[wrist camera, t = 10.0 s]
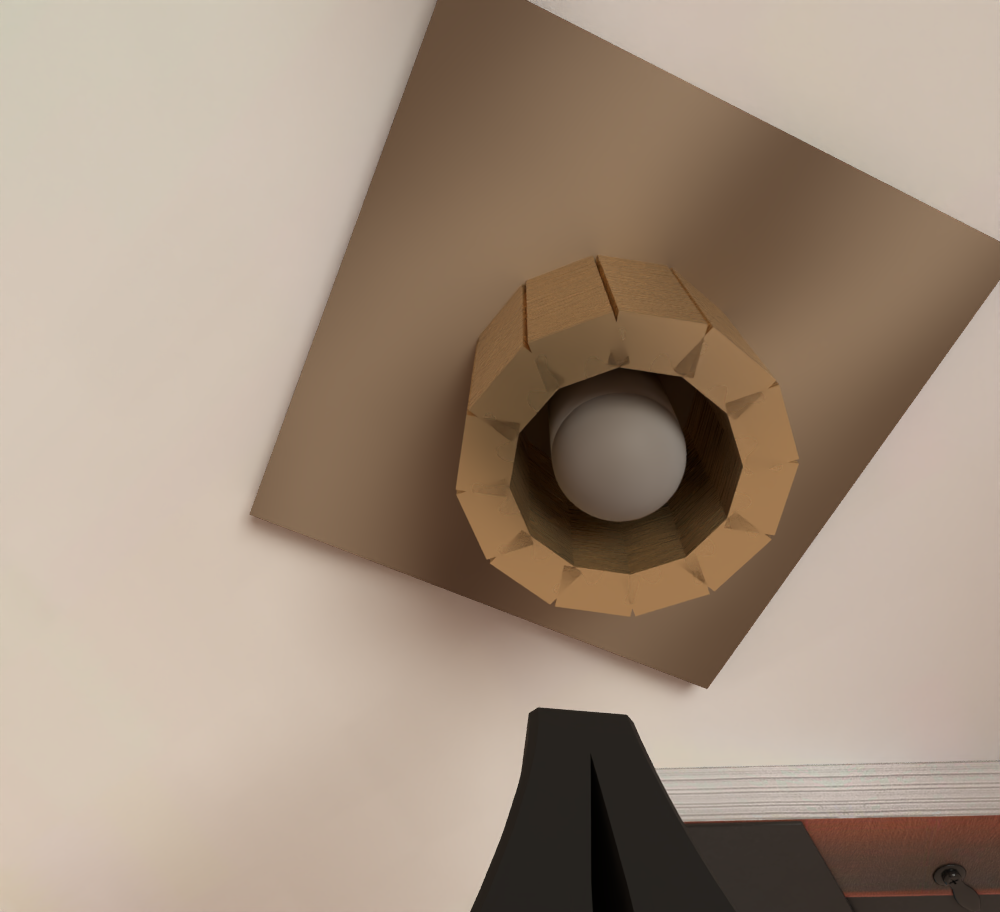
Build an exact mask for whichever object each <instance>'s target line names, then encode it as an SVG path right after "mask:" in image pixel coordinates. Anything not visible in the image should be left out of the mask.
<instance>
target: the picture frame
mask: <svg viewBox="0 0 1000 912" xmlns="http://www.w3.org/2000/svg"><path fill="white" fill-rule="evenodd" d="M655 770H656V772H657V774H658V776H659V778H660V780H661V782H662V784H663V786H664V788H665V789H666V791H667V793H668V795H669V797H670V799H671V801H672V803H673V804H674V806H675V808H676V810H677V812H678V814H679V815H680V817H681V819H682V821H683V822H684V824H685V826H686V828H687V829H688V831H689V833H690V834H691V836H692V838H693V840H694V841H695V843H696V845H697V846H698V848H699V850H700V852H701V853H702V855H703V857H704V858H705V860H706V862H707V863H708V865H709V866H710V868H711V870H712V871H713V873H714V875H715V876H716V878H717V879H718V881H719V883H720V884H721V886H722V887H723V889H724V890H725V892H726V893H727V895H728V896H729V898H730V899H731V901H732V902H733V904H734V905H735V907H736V909H737V910H738V912H1000V761H962V762H919V763H876V764H833V765H790V766H746V767H703V768H660V769H655Z"/></svg>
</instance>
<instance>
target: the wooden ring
mask: <svg viewBox="0 0 1000 912" xmlns="http://www.w3.org/2000/svg"><path fill="white" fill-rule="evenodd" d="M618 367H621V368H627V369H634V370H641V371H647V372H654V373H660V374H667V375H674V376H680V377H683V378H684V379H685V380H686V381H688V382H689V383H690V384H691V385H693V386H694V387H695V388H696V390H695V394H694V398H693V401H692V405H691V409H690V413H689V416H688V420H687V424H686V426H685V427H684V428H683V429H682V432H683V435H684V439H685V443H686V452H687V455H686V466H685V471H684V474H683V477H682V480H681V482H680V484H679V486H678V488H677V490H676V491H675V493H674V494H673V496H672V497H671V498H670V499H669V500H668V501H667V502H666V503H665V504H664V505H663V506H662V507H660V508H659V509H658V510H656V511H655V512H653V513H651V514H649V515H647V516H645V517H642V518H639V519H636V520H631V521H621V522H616V521H607V520H602V519H599V518H596V517H593V516H591V515H589V514H587V513H585V512H583V511H582V510H580V509H579V508H578V507H577V506H575V505H574V504H573V503H572V502H571V501H570V500H569V499H568V498H567V497H566V496H565V494H564V493H563V491H562V490H561V488H560V486H559V484H558V482H557V480H556V477H555V474H554V471H553V465H552V458H551V457H549V456H548V455H547V454H545V453H544V452H543V451H541V450H540V449H539V448H537V447H536V446H534V445H533V444H532V443H530V442H529V441H528V439H527V437H526V434H525V432H524V430H523V428H524V427H525V426H526V425H527V424H528V423H529V422H530V420H531V419H532V418H533V417H534V416H535V415H536V414H537V413H538V411H539V410H540V409H541V408H542V407H543V406H544V405H545V404H546V402H547V401H548V400H549V399H550V398H551V397H552V396H553V395H554V393H555V392H556V391H557V390H558V389H559V388H562V387H565V386H568V385H571V384H573V383H576V382H579V381H582V380H585V379H587V378H590V377H593V376H596V375H599V374H601V373H604V372H607V371H610V370H613V369H616V368H618ZM797 459H799V456H798V453H797V449H796V445H795V442H794V438H793V434H792V430H791V427H790V423H789V419H788V415H787V412H786V408H785V404H784V401H783V397H782V393H781V389H780V386H779V384H778V383H777V381H776V379H775V378H774V377H773V375H772V374H771V373H770V372H769V370H768V369H767V368H766V366H765V365H764V364H763V363H762V361H761V360H760V359H759V357H758V356H757V355H756V354H755V352H754V351H753V350H752V349H751V347H750V346H749V345H748V343H747V342H746V341H745V340H744V338H743V337H742V336H741V334H740V333H739V332H738V331H737V329H736V328H735V327H734V325H733V324H732V323H731V322H730V320H729V319H728V318H727V317H726V315H725V314H724V313H723V311H722V310H720V309H719V308H718V307H717V306H716V305H715V304H713V303H712V302H711V301H710V300H709V299H708V298H706V297H705V296H704V295H703V294H702V293H701V292H699V291H698V290H697V289H696V288H695V287H694V286H692V285H691V284H690V283H689V282H688V281H687V280H685V279H684V278H683V277H682V276H681V275H680V274H678V273H677V272H676V271H675V270H674V269H673V268H671V269H669V267H668V266H667V265H660V264H654V263H647V262H641V261H635V260H628V259H622V258H616V257H609V256H603V255H597V260H596V263H595V260H594V258H593V255H592V256H589V257H587V258H584V259H581V260H579V261H576V262H574V263H571V264H568V265H566V266H563V267H560V268H558V269H555V270H553V271H550V272H547V273H545V274H542V275H540V276H537V277H534V278H532V279H529V280H526V286H525V285H523V284H521V285H520V287H519V288H518V289H517V290H516V292H515V293H514V294H513V295H512V296H511V298H510V299H509V300H508V301H507V303H506V304H505V305H504V306H503V307H502V309H501V310H500V311H499V312H498V314H497V315H496V316H495V317H494V318H493V320H492V321H491V322H490V323H489V325H488V326H487V327H486V328H485V329H484V331H483V332H482V333H481V334H480V335H479V340H477V346H476V353H475V359H474V366H473V373H472V380H471V387H470V394H469V400H468V407H467V414H466V421H465V428H464V435H463V442H462V449H461V455H460V462H459V469H458V476H457V483H456V490H457V493H456V495H457V497H458V500H459V502H460V504H461V506H462V508H463V510H464V512H465V514H466V517H467V519H468V521H469V523H470V525H471V527H472V529H473V532H474V534H475V536H476V538H477V540H478V542H479V544H480V547H481V549H482V551H483V553H484V555H485V557H486V559H490V564H491V565H493V566H494V567H496V568H497V569H499V570H500V571H502V572H503V573H505V574H506V575H508V576H509V577H510V578H512V579H513V580H515V581H516V582H518V583H519V584H521V585H522V586H524V587H525V588H527V589H528V590H529V591H531V592H532V593H534V594H535V595H537V596H538V597H540V598H541V599H543V600H544V601H546V602H547V603H548V604H551V603H552V602H553V601H554V600H555V607H562V608H570V609H577V610H584V611H592V612H599V613H606V614H614V615H621V616H628V617H630V616H631V612H632V609H633V611H634V614H635V616H638V615H642V614H645V613H648V612H652V611H655V610H658V609H662V608H665V607H668V606H672V605H675V604H678V603H682V602H685V601H688V600H692V599H695V598H698V597H702V596H705V595H708V594H710V593H709V590H708V587H709V588H711V589H712V590H713V591H716V590H717V589H718V588H719V587H720V586H721V585H722V584H723V583H724V582H726V581H727V580H728V579H729V578H730V577H731V576H732V575H733V574H734V573H735V572H737V571H738V570H739V569H740V568H741V567H742V566H743V565H744V564H745V563H747V562H748V561H749V560H750V559H751V558H752V557H753V556H754V555H755V554H756V553H758V552H759V551H760V550H761V549H762V548H763V547H764V546H765V545H766V544H768V543H769V542H770V541H771V540H772V539H771V537H770V535H775V533H776V530H777V527H778V524H779V521H780V518H781V515H782V512H783V509H784V506H785V503H786V500H787V497H788V495H789V492H790V489H791V486H792V483H793V480H794V477H795V474H796V471H797V468H798V465H799V463H798V462H797ZM707 586H708V587H707Z"/></svg>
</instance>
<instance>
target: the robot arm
mask: <svg viewBox="0 0 1000 912" xmlns="http://www.w3.org/2000/svg"><path fill="white" fill-rule="evenodd" d="M470 912H738V910H737V909H736V907H735V905H734V904H733V902H732V901H731V899H730V898H729V896H728V895H727V893H726V892H725V890H724V889H723V887H722V886H721V884H720V883H719V881H718V879H717V878H716V876H715V875H714V873H713V871H712V870H711V868H710V866H709V865H708V863H707V862H706V860H705V858H704V857H703V855H702V853H701V852H700V850H699V848H698V846H697V845H696V843H695V841H694V840H693V838H692V836H691V834H690V833H689V831H688V829H687V828H686V826H685V824H684V822H683V821H682V819H681V817H680V815H679V814H678V812H677V810H676V808H675V806H674V804H673V803H672V801H671V799H670V797H669V795H668V793H667V791H666V789H665V788H664V786H663V784H662V782H661V780H660V778H659V776H658V774H657V772H656V770H655V768H654V766H653V764H652V762H651V760H650V758H649V756H648V754H647V752H646V749H645V747H644V745H643V743H642V741H641V739H640V736H639V734H638V732H637V730H636V727H635V725H634V722H633V721H632V720H631V719H630V718H629V717H628V716H627V715H623V714H611V713H599V712H587V711H575V710H563V709H550V708H537V709H535V710H533V711H532V712H530V713H529V717H528V724H527V732H526V740H525V748H524V755H523V763H522V771H521V776H520V780H519V784H518V788H517V791H516V794H515V797H514V800H513V803H512V806H511V809H510V812H509V816H508V819H507V822H506V825H505V828H504V831H503V834H502V836H501V839H500V842H499V844H498V847H497V849H496V852H495V854H494V857H493V859H492V862H491V864H490V866H489V869H488V871H487V874H486V876H485V879H484V881H483V884H482V886H481V889H480V891H479V893H478V896H477V898H476V900H475V902H474V904H473V907H472V909H471V911H470Z"/></svg>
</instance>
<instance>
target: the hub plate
mask: <svg viewBox="0 0 1000 912" xmlns="http://www.w3.org/2000/svg"><path fill="white" fill-rule="evenodd" d="M592 255H593V258H594V260H595V263H596V260H597V255H603V256H609V257H616V258H622V259H628V260H635V261H641V262H647V263H654V264H660V265H667V266H668V267H669V269H671V268H673V269H674V270H675V271H676V272H677V273H678V274H680V275H681V276H682V277H683V278H684V279H685V280H687V281H688V282H689V283H690V284H691V285H692V286H694V287H695V288H696V289H697V290H698V291H699V292H701V293H702V294H703V295H704V296H705V297H706V298H708V299H709V300H710V301H711V302H712V303H713V304H715V305H716V306H717V307H718V308H719V309H720V310H722V311H723V313H724V314H725V315H726V317H727V318H728V319H729V320H730V322H731V323H732V324H733V325H734V327H735V328H736V329H737V331H738V332H739V333H740V334H741V336H742V337H743V338H744V340H745V341H746V342H747V343H748V345H749V346H750V347H751V349H752V350H753V351H754V352H755V354H756V355H757V356H758V357H759V359H760V360H761V361H762V363H763V364H764V365H765V366H766V368H767V369H768V370H769V372H770V373H771V374H772V375H773V377H774V378H775V379H776V381H777V383H778V384H779V386H780V389H781V393H782V397H783V401H784V404H785V408H786V412H787V415H788V419H789V423H790V427H791V430H792V434H793V438H794V442H795V445H796V449H797V453H798V456H799V459H797V462H798V463H799V465H798V468H797V471H796V474H795V477H794V480H793V483H792V486H791V489H790V492H789V495H788V497H787V500H786V503H785V506H784V509H783V512H782V515H781V518H780V521H779V524H778V527H777V530H776V533H775V535H770V537H771V539H772V540H771V541H770V542H769V543H768V544H766V545H765V546H764V547H763V548H762V549H761V550H760V551H759V552H758V553H756V554H755V555H754V556H753V557H752V558H751V559H750V560H749V561H748V562H747V563H745V564H744V565H743V566H742V567H741V568H740V569H739V570H738V571H737V572H735V573H734V574H733V575H732V576H731V577H730V578H729V579H728V580H727V581H726V582H724V583H723V584H722V585H721V586H720V587H719V588H718V589H717V590H716V591H713V590H712V589H711V588H709V587H708V586H707V587H708V590H709V593H710V594H708V595H705V596H702V597H698V598H695V599H692V600H688V601H685V602H682V603H678V604H675V605H672V606H668V607H665V608H662V609H658V610H655V611H652V612H648V613H645V614H642V615H638V616H635V614H634V611H633V609H632V612H631V616H630V617H628V616H621V615H614V614H606V613H599V612H592V611H584V610H577V609H570V608H562V607H555V600H554V601H553V602H552V603H551V604H548V603H547V602H546V601H544V600H543V599H541V598H540V597H538V596H537V595H535V594H534V593H532V592H531V591H529V590H528V589H527V588H525V587H524V586H522V585H521V584H519V583H518V582H516V581H515V580H513V579H512V578H510V577H509V576H508V575H506V574H505V573H503V572H502V571H500V570H499V569H497V568H496V567H494V566H493V565H491V564H490V559H486V557H485V555H484V553H483V551H482V549H481V547H480V544H479V542H478V540H477V538H476V536H475V534H474V532H473V529H472V527H471V525H470V523H469V521H468V519H467V517H466V514H465V512H464V510H463V508H462V506H461V504H460V502H459V500H458V497H457V495H456V493H457V490H456V483H457V476H458V469H459V462H460V455H461V449H462V442H463V435H464V428H465V421H466V414H467V407H468V400H469V394H470V387H471V380H472V373H473V366H474V359H475V353H476V346H477V340H479V335H480V334H481V333H482V332H483V331H484V329H485V328H486V327H487V326H488V325H489V323H490V322H491V321H492V320H493V318H494V317H495V316H496V315H497V314H498V312H499V311H500V310H501V309H502V307H503V306H504V305H505V304H506V303H507V301H508V300H509V299H510V298H511V296H512V295H513V294H514V293H515V292H516V290H517V289H518V288H519V287H520V285H521V284H523V285H525V286H526V280H529V279H532V278H534V277H537V276H540V275H542V274H545V273H547V272H550V271H553V270H555V269H558V268H560V267H563V266H566V265H568V264H571V263H574V262H576V261H579V260H581V259H584V258H587V257H589V256H592ZM999 280H1000V241H998V240H996V239H994V238H992V237H990V236H988V235H986V234H984V233H982V232H980V231H978V230H976V229H974V228H972V227H970V226H968V225H966V224H964V223H962V222H960V221H958V220H956V219H954V218H953V217H951V216H949V215H947V214H945V213H943V212H941V211H939V210H937V209H935V208H933V207H931V206H929V205H927V204H925V203H923V202H921V201H919V200H917V199H915V198H913V197H911V196H909V195H907V194H905V193H903V192H902V191H900V190H898V189H896V188H894V187H892V186H890V185H888V184H886V183H884V182H882V181H880V180H878V179H876V178H874V177H872V176H870V175H868V174H866V173H864V172H862V171H860V170H858V169H856V168H854V167H852V166H851V165H849V164H847V163H845V162H843V161H841V160H839V159H837V158H835V157H833V156H831V155H829V154H827V153H825V152H823V151H821V150H819V149H817V148H815V147H813V146H811V145H809V144H807V143H805V142H803V141H802V140H800V139H798V138H796V137H794V136H792V135H790V134H788V133H786V132H784V131H782V130H780V129H778V128H776V127H774V126H772V125H770V124H768V123H766V122H764V121H762V120H760V119H758V118H756V117H754V116H752V115H751V114H749V113H747V112H745V111H743V110H741V109H739V108H737V107H735V106H733V105H731V104H729V103H727V102H725V101H723V100H721V99H719V98H717V97H715V96H713V95H711V94H709V93H707V92H705V91H703V90H701V89H700V88H698V87H696V86H694V85H692V84H690V83H688V82H686V81H684V80H682V79H680V78H678V77H676V76H674V75H672V74H670V73H668V72H666V71H664V70H662V69H660V68H658V67H656V66H654V65H652V64H650V63H649V62H647V61H645V60H643V59H641V58H639V57H637V56H635V55H633V54H631V53H629V52H627V51H625V50H623V49H621V48H619V47H617V46H615V45H613V44H611V43H609V42H607V41H605V40H603V39H601V38H599V37H598V36H596V35H594V34H592V33H590V32H588V31H586V30H584V29H582V28H580V27H578V26H576V25H574V24H572V23H570V22H568V21H566V20H564V19H562V18H560V17H558V16H556V15H554V14H552V13H550V12H549V11H547V10H545V9H543V8H541V7H539V6H537V5H535V4H533V3H531V2H529V1H527V0H437V3H436V6H435V9H434V11H433V14H432V17H431V20H430V22H429V25H428V28H427V31H426V33H425V36H424V39H423V42H422V44H421V47H420V50H419V52H418V55H417V58H416V61H415V63H414V66H413V69H412V72H411V74H410V77H409V80H408V83H407V85H406V88H405V91H404V93H403V96H402V99H401V102H400V104H399V107H398V110H397V113H396V115H395V118H394V121H393V124H392V126H391V129H390V132H389V134H388V137H387V140H386V143H385V145H384V148H383V151H382V154H381V156H380V159H379V162H378V165H377V167H376V170H375V173H374V176H373V178H372V181H371V184H370V186H369V189H368V192H367V195H366V197H365V200H364V203H363V206H362V208H361V211H360V214H359V217H358V219H357V222H356V225H355V227H354V230H353V233H352V236H351V238H350V241H349V244H348V247H347V249H346V252H345V255H344V258H343V260H342V263H341V266H340V268H339V271H338V274H337V277H336V279H335V282H334V285H333V288H332V290H331V293H330V296H329V299H328V301H327V304H326V307H325V310H324V312H323V315H322V318H321V320H320V323H319V326H318V329H317V331H316V334H315V337H314V340H313V342H312V345H311V348H310V351H309V353H308V356H307V359H306V361H305V364H304V367H303V370H302V372H301V375H300V378H299V381H298V383H297V386H296V389H295V392H294V394H293V397H292V400H291V402H290V405H289V408H288V411H287V413H286V416H285V419H284V422H283V424H282V427H281V430H280V433H279V435H278V438H277V441H276V444H275V446H274V449H273V452H272V454H271V457H270V460H269V463H268V465H267V468H266V471H265V474H264V476H263V479H262V482H261V485H260V487H259V490H258V493H257V495H256V498H255V501H254V504H253V506H252V509H251V512H250V515H252V516H255V517H257V518H260V519H263V520H265V521H268V522H271V523H273V524H276V525H278V526H281V527H284V528H286V529H289V530H292V531H294V532H297V533H299V534H302V535H305V536H307V537H310V538H313V539H315V540H318V541H320V542H323V543H326V544H328V545H331V546H334V547H336V548H339V549H341V550H344V551H347V552H349V553H352V554H355V555H357V556H360V557H362V558H365V559H368V560H370V561H373V562H376V563H378V564H381V565H383V566H386V567H389V568H391V569H394V570H396V571H399V572H402V573H404V574H407V575H410V576H412V577H415V578H417V579H420V580H423V581H425V582H428V583H431V584H433V585H436V586H438V587H441V588H444V589H446V590H449V591H452V592H454V593H457V594H459V595H462V596H465V597H467V598H470V599H473V600H475V601H478V602H480V603H483V604H486V605H488V606H491V607H494V608H496V609H499V610H501V611H504V612H507V613H509V614H512V615H515V616H517V617H520V618H522V619H525V620H528V621H530V622H533V623H535V624H538V625H541V626H543V627H546V628H549V629H551V630H554V631H556V632H559V633H562V634H564V635H567V636H570V637H572V638H575V639H577V640H580V641H583V642H585V643H588V644H591V645H593V646H596V647H598V648H601V649H604V650H606V651H609V652H612V653H614V654H617V655H619V656H622V657H625V658H627V659H630V660H633V661H635V662H638V663H640V664H643V665H646V666H648V667H651V668H653V669H656V670H659V671H661V672H664V673H667V674H669V675H672V676H674V677H677V678H680V679H682V680H685V681H688V682H690V683H693V684H695V685H698V686H701V687H703V688H706V689H708V687H709V686H710V684H711V683H712V682H713V680H714V679H715V677H716V676H717V675H718V673H719V672H720V670H721V669H722V668H723V666H724V665H725V663H726V662H727V661H728V659H729V658H730V656H731V655H732V654H733V652H734V651H735V649H736V648H737V647H738V645H739V644H740V642H741V641H742V640H743V638H744V637H745V635H746V634H747V633H748V631H749V630H750V628H751V627H752V626H753V624H754V623H755V621H756V620H757V619H758V617H759V616H760V614H761V613H762V612H763V610H764V609H765V607H766V606H767V605H768V603H769V602H770V600H771V599H772V598H773V596H774V595H775V593H776V592H777V591H778V589H779V588H780V586H781V585H782V584H783V582H784V581H785V579H786V578H787V577H788V575H789V574H790V572H791V571H792V570H793V568H794V567H795V565H796V564H797V563H798V561H799V560H800V558H801V557H802V556H803V554H804V553H805V551H806V550H807V549H808V547H809V546H810V544H811V543H812V542H813V540H814V539H815V538H816V536H817V535H818V533H819V532H820V531H821V529H822V528H823V526H824V525H825V524H826V522H827V521H828V519H829V518H830V517H831V515H832V514H833V512H834V511H835V510H836V508H837V507H838V505H839V504H840V503H841V501H842V500H843V498H844V497H845V496H846V494H847V493H848V491H849V490H850V489H851V487H852V486H853V484H854V483H855V482H856V480H857V479H858V477H859V476H860V475H861V473H862V472H863V470H864V469H865V468H866V466H867V465H868V463H869V462H870V461H871V459H872V458H873V456H874V455H875V454H876V452H877V451H878V449H879V448H880V447H881V445H882V444H883V442H884V441H885V440H886V438H887V437H888V435H889V434H890V433H891V431H892V430H893V428H894V427H895V426H896V424H897V423H898V421H899V420H900V419H901V417H902V416H903V414H904V413H905V412H906V410H907V409H908V407H909V406H910V405H911V403H912V402H913V400H914V399H915V398H916V396H917V395H918V393H919V392H920V391H921V389H922V388H923V386H924V385H925V384H926V382H927V381H928V379H929V378H930V377H931V375H932V374H933V372H934V371H935V370H936V368H937V367H938V366H939V364H940V363H941V361H942V360H943V359H944V357H945V356H946V354H947V353H948V352H949V350H950V349H951V347H952V346H953V345H954V343H955V342H956V340H957V339H958V338H959V336H960V335H961V333H962V332H963V331H964V329H965V328H966V326H967V325H968V324H969V322H970V321H971V319H972V318H973V317H974V315H975V314H976V312H977V311H978V310H979V308H980V307H981V305H982V304H983V303H984V301H985V300H986V298H987V297H988V296H989V294H990V293H991V291H992V290H993V289H994V287H995V286H996V284H997V283H998V282H999ZM695 390H696V388H695V387H694V386H693V385H691V384H690V383H689V382H688V381H686V380H685V379H684V378H683V377H680V376H674V375H667V374H660V373H654V372H647V371H641V370H634V369H627V368H621V367H618V368H616V369H613V370H610V371H607V372H604V373H601V374H599V375H596V376H593V377H590V378H587V379H585V380H582V381H579V382H576V383H573V384H571V385H568V386H565V387H562V388H559V389H558V390H557V391H556V392H555V393H554V395H553V396H552V397H551V398H550V399H549V400H548V401H547V402H546V404H545V405H544V406H543V407H542V408H541V409H540V410H539V411H538V413H537V414H536V415H535V416H534V417H533V418H532V419H531V420H530V422H529V423H528V424H527V425H526V426H525V427H524V428H523V430H524V432H525V434H526V437H527V439H528V441H529V442H530V443H532V444H533V445H534V446H536V447H537V448H539V449H540V450H541V451H543V452H544V453H545V454H547V455H548V456H549V457H551V458H552V465H553V471H554V474H555V477H556V480H557V482H558V484H559V486H560V488H561V490H562V491H563V493H564V494H565V496H566V497H567V498H568V499H569V500H570V501H571V502H572V503H573V504H574V505H575V506H577V507H578V508H579V509H580V510H582V511H583V512H585V513H587V514H589V515H591V516H593V517H596V518H599V519H602V520H607V521H616V522H621V521H631V520H636V519H639V518H642V517H645V516H647V515H649V514H651V513H653V512H655V511H656V510H658V509H659V508H660V507H662V506H663V505H664V504H665V503H666V502H667V501H668V500H669V499H670V498H671V497H672V496H673V494H674V493H675V491H676V490H677V488H678V486H679V484H680V482H681V480H682V477H683V474H684V471H685V466H686V455H687V452H686V443H685V439H684V435H683V432H682V429H683V428H684V427H685V426H686V424H687V420H688V416H689V413H690V409H691V405H692V401H693V398H694V394H695Z"/></svg>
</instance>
